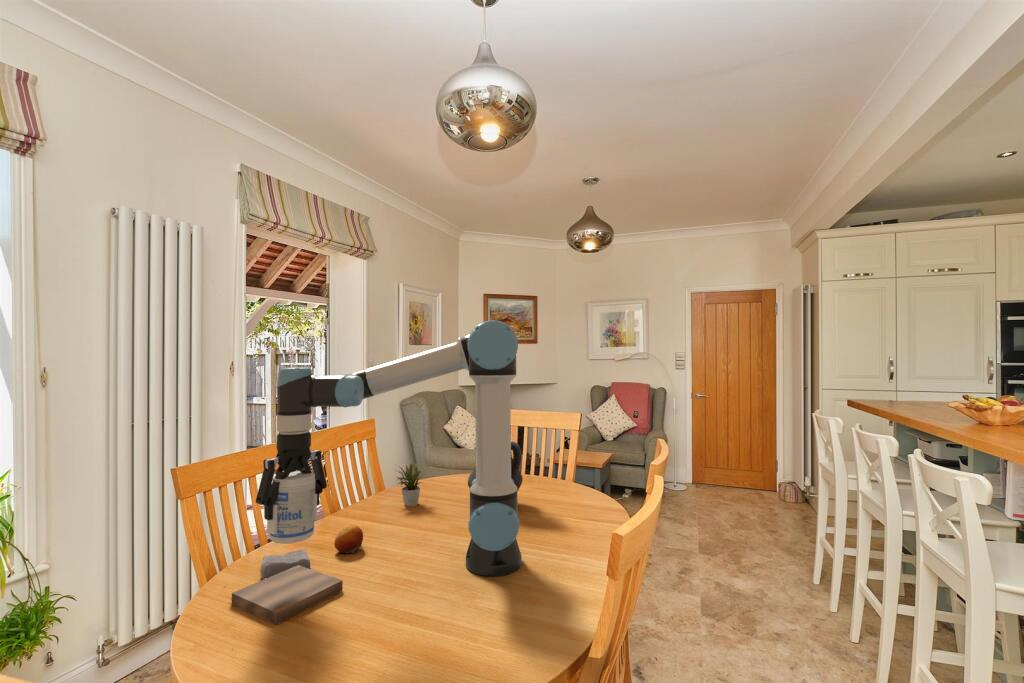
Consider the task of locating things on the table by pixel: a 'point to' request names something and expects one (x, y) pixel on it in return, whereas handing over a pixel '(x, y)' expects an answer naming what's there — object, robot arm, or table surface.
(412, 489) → the house plant
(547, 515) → the table surface
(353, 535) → the fruit
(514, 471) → the pitcher
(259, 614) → the walnut board
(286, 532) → the supplement tub
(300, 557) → the stone block
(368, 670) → the table surface
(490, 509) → the robot arm
